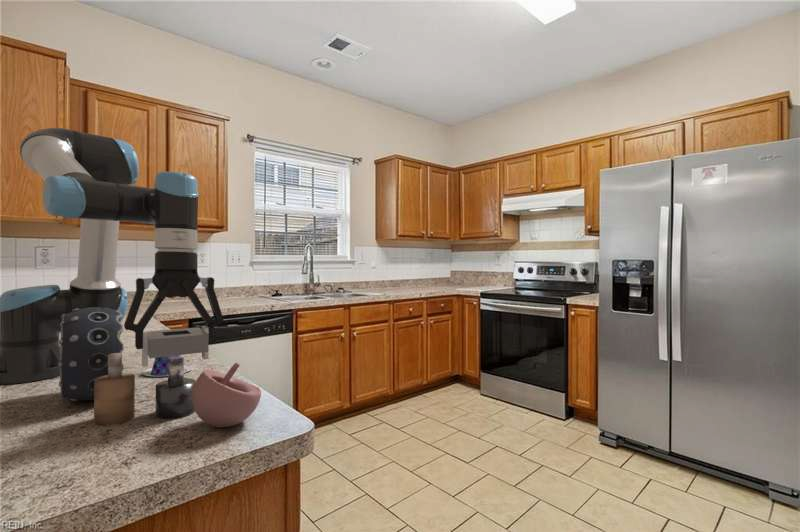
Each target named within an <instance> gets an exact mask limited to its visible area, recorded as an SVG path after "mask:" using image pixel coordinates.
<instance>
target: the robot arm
mask: <svg viewBox="0 0 800 532" xmlns="http://www.w3.org/2000/svg"><path fill="white" fill-rule="evenodd" d="M19 154H20V155H19V156H20V158H21V159H22V161H23V163H24V164H25V166H26V167H27V168H28V169H29V170H31V171H32V172H34V173H35V174H38V175H39V176H40V177H41V179H42V180H43V182H44V183H43V188H42V203H43V207H44V210H45V212H46V213H47V214H48V215H50V216H55V217H60V218H61V217H62V218H67V219H71V220H72V219H75V220H76V219H80V233H79V235H80V236H79V248H78V261H77V274H76V275H77V276H76V277H74V279H72V280H71V281H70V282H69V288H68V289H61V287H60V285H58V284H47V285H46V284H45V285H35V286H26V287H20V288H15V289H10V290H5V291H4V292H2V294H0V385H6V384H7V385H8V384H11V385H12V384H22V383H30V382H37V381H42V380H47V379H51V378H55V377H58V376H59V377H60V367H59V366H58V363H59V362H60V344H59V340H60V334H61V326H60V323H61V322H62V318H61V316H62V315H63V314H68V313H70V312H71V311H72V310H74V309H84V308H93V307H97V308H109V309H113V310H117V311H119V312H121V314H122V315H123V316H122V318H121V322H122V321H123V320H124V318H125V315H126V318H125V321H124V323H123V328H124V329H125V331H131V332H134V338H135V339H134V340H135V341H134V344H135V348H136V350H141V365H142V367H143V368H145V367H146V368H147V367H148V366H149V365H148V364H149V356H148V332H147V330H145V329H146V327H147V325H148V324H149V322H150V321H151V320H152V318H153V316H154V315H155V313H156V312H157V310H158V308H159V307H160V306H161V305H162V303H163V302H164V300H166V299H165V298H168V299H169V298H170V299H172V298H177V297H178V298H186V297H187V298H188V299H189V300H190V301H191V303H192V305H193V307H194V308H195V310H196V311H197V312H198V314H199V316H200V318H202V320H203V322H204V323H205V325H203V326H201V329H202V330H203V331H205V332H206V333H208V334H209V343H212V342H214V341H215V340H214V339H215V326H216V325H218V324H222V323H223V322H224V317H223V313H222V311H221V307H220V304H219V301H218V298H217V294H216V291H215V278H214V277H210V276H208V277H201V276H200V275H199V273H198V253H197V252H195V250H197V249H198V222H199V221H198V218H199V217H198V215H199V211H198V210H199V196H200V194H199V188H198V179H197V177H195V176H194V175H192V174H189V173H185V172H179V171H178V172H177V171H160V172H158V173H157V174H156V175H155V181H154V184H153V185H154V186H153V187H154V188H153V187H146V186H138V185H136V183H137V182H138V178H139V177H140V176H139V175H140V166H139V159H138V156H137V152H136V151H135V148H134V147H133V146H132V144H130V143H129V142H127V141H124V140H120V139H117V138H113V137H107V136H103V135H97V134H92V133H87V132H83V131H77V130H72V129H69V128H63V127H62V128H61V127H49V128H43V129H38V130H35V131H32V132H31V133H29V134H27V135H26V136H25V137H24V138H23V139H22V140H21V142H20V145H19ZM120 222H123V223H124V222H125V223H126V222H127V223H128V222H129V223H138V224H139V223H140V224H143V225H149V226H150V225H151V226H154V248H155V249H156V250H157V251H156V252H155V253H154V272H153V273H154V274H153V275H152V277H147V278H146V277H145V278H141V277H137V278H136V279H135V292H134V296H133V298H132V301H131V304H130V307H129V310H128V313H127V309H128V301H129V300H128V294H127V290H126V289H125V288H123V287H121V282H120V281H119V280H118V279H117V278H116V267H117V258H118V257H117V254H118V246H119V245H118V243H119V242H118V241H119V231H120ZM199 283H200V284H201V286H202V287H203V288H205V292H206V296H207V298H208V303H209V305H210V309H211V312H212V314H213V318H212V316H211V315H210V314H209V312H208V311H207V309H206V308H205V307H204V305H203V303H202V301H201V299H199V296H198V295H197V294H196V293H197V292H196V291H194V290H195V289H196V287H197V286H198V285H199ZM152 284H153V285H154V287H155V288H156V289H157V290H158V292H157V293H156V294H155V297H154V298H153V299H152V301H151V303H150V304H149V305H148V307H147V309H145V312H144V313H143V314H142V317H140V319H139V321H138V322H137V323H135V320H136V318H137V314H138V312H139V309H140V306H141V303H142V300H143V297H144V294H145V290H148V289H149V287H150V286H151V285H152ZM126 313H127V314H126ZM201 358H202V359H203V360H205V361H206V360H209V351H208V352H202V353H201Z"/></svg>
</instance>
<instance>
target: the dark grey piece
mask: <svg viewBox="0 0 800 532" xmlns="http://www.w3.org/2000/svg"><path fill="white" fill-rule="evenodd" d="M122 316H123V315H122V314H121V312H119V311H117V310H113V309H109V308H97V307H93V308H84V309H74V310H72V311H71V312H70V313H68V314H63V315H62V316H61V318H62V322H61V323H60V326H61V333H60V338H59V345H60V362H59V363H58V366H59V367H60V375H59V382H58V386H59V388H60V393H59V397H60V398H63V399H65V400H71V401H73V402H76V401H77V402H78V401H82V402H83V401H84V402H85V401H94V380H95V379H96V378H98V377H101V376H105V375H108V355H109V354H113V353H123V351H124V350H125V349H124V346H125V345H124V343H123V342H122V341H121V334H122V332H123V331H124V324H122V323H121V322H122V321H121V318H122ZM124 366H125V365H124V363H123V362H122V372H123V371H124Z"/></svg>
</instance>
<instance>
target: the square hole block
mask: <svg viewBox="0 0 800 532" xmlns="http://www.w3.org/2000/svg"><path fill="white" fill-rule="evenodd" d="M146 331H147V330H146ZM147 332H148V359H155V358H158V357H167V356H176V355H181V356H183V355H191V354H202V352H208V353H209V346H210V345H209V343H210V342H209V334H208V333H206V332H205V331H203V330H202V328H201V327H187V328H174V329H163V330H162V329H161V330H149V331H147Z"/></svg>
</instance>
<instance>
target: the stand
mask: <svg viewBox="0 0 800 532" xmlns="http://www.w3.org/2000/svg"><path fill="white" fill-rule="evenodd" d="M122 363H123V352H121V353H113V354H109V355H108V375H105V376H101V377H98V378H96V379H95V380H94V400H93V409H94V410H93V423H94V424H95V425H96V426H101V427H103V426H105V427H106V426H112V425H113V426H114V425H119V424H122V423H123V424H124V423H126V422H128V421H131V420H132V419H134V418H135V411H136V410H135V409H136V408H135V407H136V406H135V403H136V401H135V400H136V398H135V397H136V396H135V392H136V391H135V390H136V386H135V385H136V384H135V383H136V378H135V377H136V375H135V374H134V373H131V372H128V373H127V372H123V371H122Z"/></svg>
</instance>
